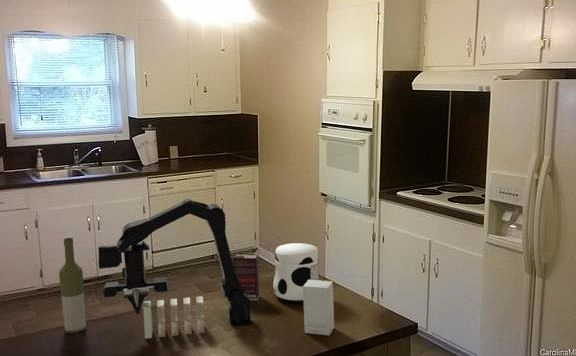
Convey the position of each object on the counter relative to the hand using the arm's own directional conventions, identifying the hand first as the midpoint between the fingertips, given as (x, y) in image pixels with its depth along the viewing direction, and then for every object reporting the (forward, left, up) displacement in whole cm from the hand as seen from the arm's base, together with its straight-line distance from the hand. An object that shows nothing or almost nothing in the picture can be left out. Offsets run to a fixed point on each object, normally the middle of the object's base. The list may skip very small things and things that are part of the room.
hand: (138, 313), depth 172 cm
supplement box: (-37, -23, -8) cm, 44 cm away
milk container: (-55, -20, -8) cm, 59 cm away
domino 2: (-7, 0, -7) cm, 10 cm away
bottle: (+20, -9, -7) cm, 23 cm away
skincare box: (-55, +10, -8) cm, 56 cm away
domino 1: (-3, 0, -7) cm, 8 cm away
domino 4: (-15, 0, -7) cm, 17 cm away
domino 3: (-11, 0, -7) cm, 13 cm away
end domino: (-19, 0, -7) cm, 20 cm away
